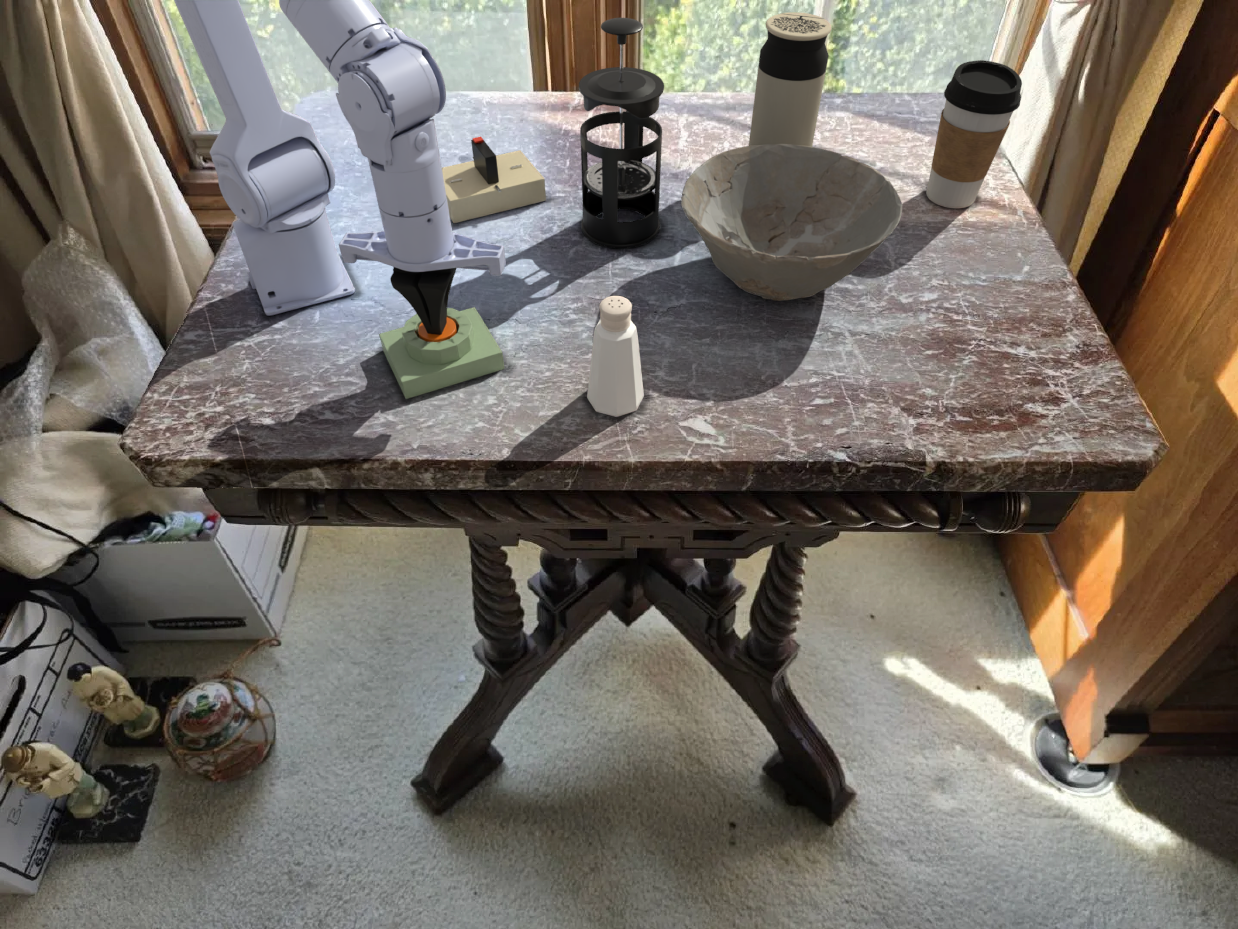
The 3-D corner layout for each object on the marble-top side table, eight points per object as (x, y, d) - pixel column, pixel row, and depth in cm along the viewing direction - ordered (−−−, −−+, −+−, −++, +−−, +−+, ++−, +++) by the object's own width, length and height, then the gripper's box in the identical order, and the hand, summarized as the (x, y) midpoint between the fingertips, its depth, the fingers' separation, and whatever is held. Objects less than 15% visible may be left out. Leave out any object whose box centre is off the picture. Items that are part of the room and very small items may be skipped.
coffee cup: (978, 180, 109) (1019, 60, 98) (991, 216, 103) (1036, 92, 92) (911, 177, 109) (945, 57, 98) (920, 212, 104) (957, 89, 93)
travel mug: (796, 191, 107) (822, 42, 94) (737, 176, 109) (754, 29, 96) (815, 163, 112) (842, 17, 98) (757, 150, 114) (776, 6, 101)
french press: (647, 257, 97) (654, 48, 80) (568, 244, 98) (559, 36, 82) (671, 205, 104) (682, 4, 87) (598, 194, 106) (595, -5, 89)
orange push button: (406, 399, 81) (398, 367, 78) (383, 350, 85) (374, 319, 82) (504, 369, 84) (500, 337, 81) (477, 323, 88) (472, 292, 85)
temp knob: (499, 181, 102) (496, 153, 99) (488, 184, 102) (484, 155, 99) (484, 163, 105) (481, 135, 102) (474, 165, 105) (470, 137, 102)
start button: (427, 357, 81) (424, 343, 80) (416, 336, 83) (413, 322, 82) (463, 347, 82) (461, 333, 81) (451, 326, 84) (448, 312, 83)
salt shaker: (642, 378, 83) (645, 284, 75) (645, 417, 79) (649, 322, 71) (586, 379, 83) (583, 285, 74) (587, 418, 79) (584, 324, 71)
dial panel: (455, 226, 101) (451, 202, 99) (431, 190, 107) (427, 166, 104) (548, 203, 105) (546, 179, 102) (520, 169, 110) (518, 146, 108)
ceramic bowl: (889, 238, 100) (911, 158, 92) (866, 360, 85) (890, 276, 77) (705, 207, 104) (712, 128, 97) (653, 317, 89) (656, 234, 82)
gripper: (507, 181, 74) (520, 309, 83) (346, 169, 75) (378, 296, 85) (487, 225, 69) (503, 355, 79) (316, 212, 70) (353, 341, 80)
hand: (437, 327), depth 81 cm, fingers closed, pressing on start button
